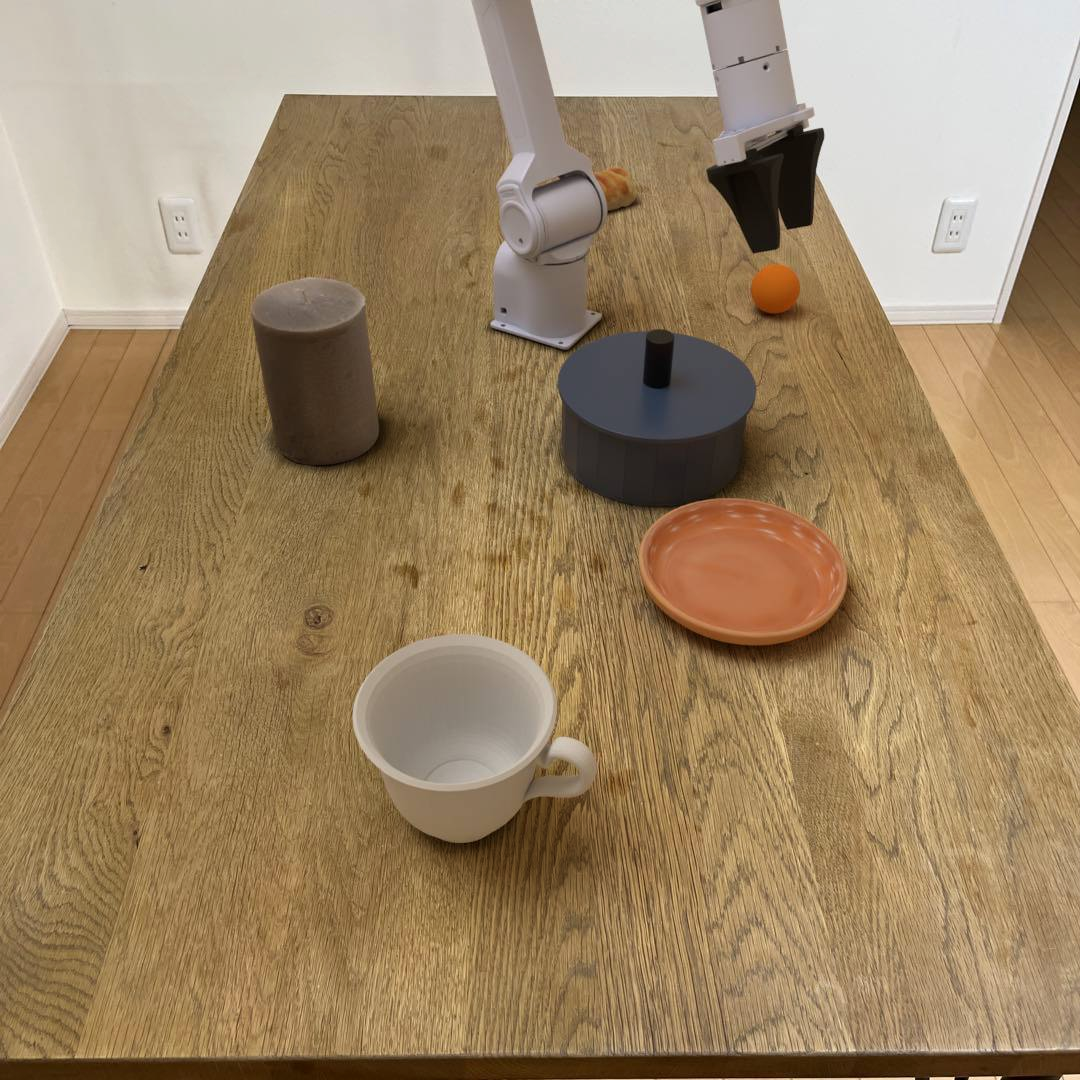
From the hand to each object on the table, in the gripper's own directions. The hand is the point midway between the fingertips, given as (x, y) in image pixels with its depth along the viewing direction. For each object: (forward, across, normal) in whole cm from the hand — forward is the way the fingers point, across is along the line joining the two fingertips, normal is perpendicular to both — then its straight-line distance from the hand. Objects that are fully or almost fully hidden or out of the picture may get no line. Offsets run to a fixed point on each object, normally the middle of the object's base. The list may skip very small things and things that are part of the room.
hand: (783, 238), depth 89 cm
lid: (+10, -4, +12) cm, 16 cm away
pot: (+16, -3, +15) cm, 22 cm away
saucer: (+24, -16, +3) cm, 29 cm away
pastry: (-1, +41, +40) cm, 57 cm away
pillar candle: (+8, -16, +40) cm, 44 cm away
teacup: (+25, -44, +9) cm, 51 cm away
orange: (+10, +26, +13) cm, 31 cm away
